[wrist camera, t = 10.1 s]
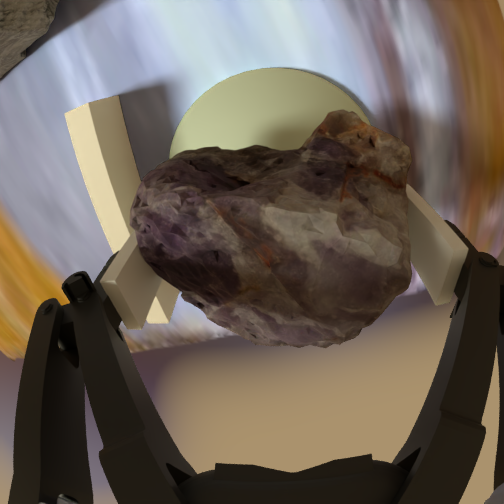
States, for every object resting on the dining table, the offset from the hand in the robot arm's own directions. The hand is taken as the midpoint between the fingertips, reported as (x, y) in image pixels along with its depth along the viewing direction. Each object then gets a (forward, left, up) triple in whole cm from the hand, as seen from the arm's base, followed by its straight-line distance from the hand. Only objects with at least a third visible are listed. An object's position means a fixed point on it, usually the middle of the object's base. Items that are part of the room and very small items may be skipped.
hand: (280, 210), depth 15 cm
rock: (0, 0, -2) cm, 2 cm away
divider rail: (-11, -1, -6) cm, 12 cm away
